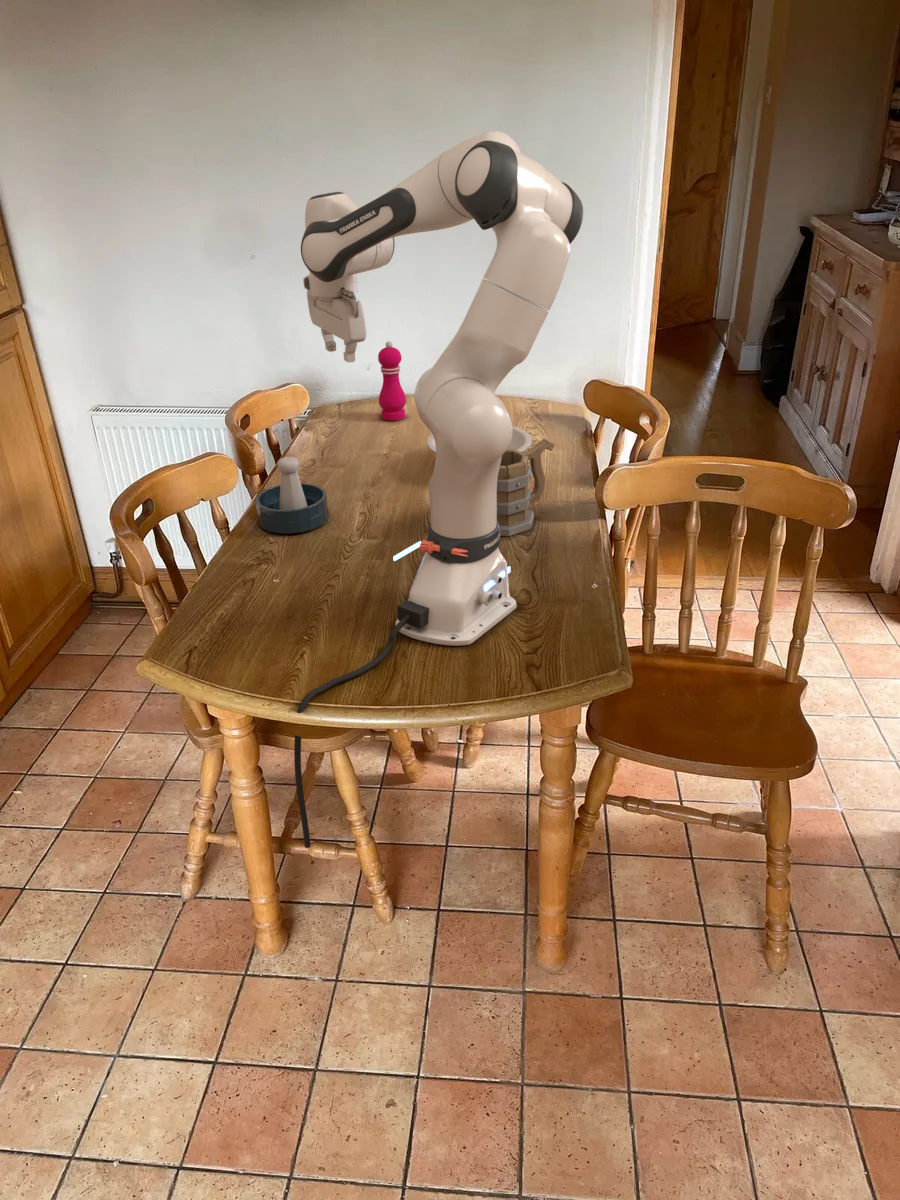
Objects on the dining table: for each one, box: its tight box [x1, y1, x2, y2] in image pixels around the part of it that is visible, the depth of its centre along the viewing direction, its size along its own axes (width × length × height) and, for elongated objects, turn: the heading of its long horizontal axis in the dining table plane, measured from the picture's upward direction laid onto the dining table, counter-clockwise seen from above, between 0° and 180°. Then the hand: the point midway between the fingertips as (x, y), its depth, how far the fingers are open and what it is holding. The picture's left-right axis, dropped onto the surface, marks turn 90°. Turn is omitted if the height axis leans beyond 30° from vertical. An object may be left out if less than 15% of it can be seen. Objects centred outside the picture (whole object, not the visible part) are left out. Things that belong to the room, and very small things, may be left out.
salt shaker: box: [276, 456, 308, 510], centre depth 187 cm, size 6×6×13 cm
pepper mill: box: [377, 340, 407, 422], centre depth 240 cm, size 7×7×20 cm
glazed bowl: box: [255, 482, 330, 534], centre depth 190 cm, size 14×14×6 cm
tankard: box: [497, 438, 556, 537], centre depth 185 cm, size 20×13×15 cm, turn 123°
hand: (340, 356), depth 184 cm, fingers open, 8 cm apart
